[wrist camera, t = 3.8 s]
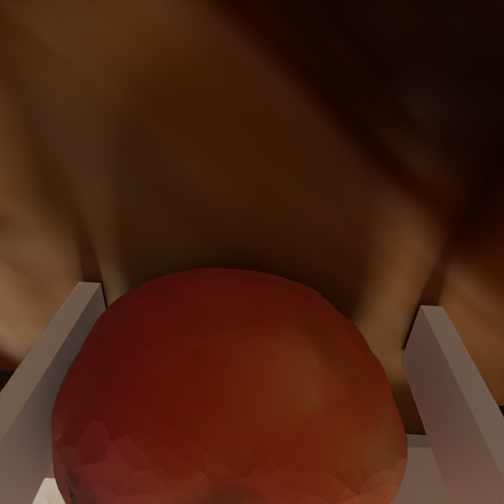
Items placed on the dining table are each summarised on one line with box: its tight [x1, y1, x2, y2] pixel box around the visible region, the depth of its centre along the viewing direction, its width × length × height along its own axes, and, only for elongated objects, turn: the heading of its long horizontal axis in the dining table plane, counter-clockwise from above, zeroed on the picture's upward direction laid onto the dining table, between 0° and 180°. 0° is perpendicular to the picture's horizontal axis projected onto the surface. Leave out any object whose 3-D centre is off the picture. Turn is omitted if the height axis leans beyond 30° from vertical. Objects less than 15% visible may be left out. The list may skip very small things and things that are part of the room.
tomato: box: [51, 267, 408, 504], centre depth 11 cm, size 9×9×8 cm
